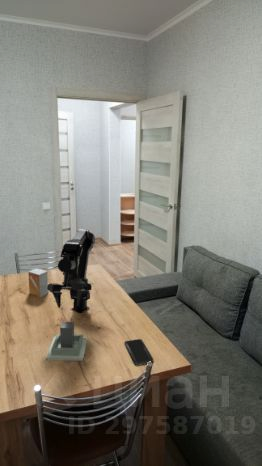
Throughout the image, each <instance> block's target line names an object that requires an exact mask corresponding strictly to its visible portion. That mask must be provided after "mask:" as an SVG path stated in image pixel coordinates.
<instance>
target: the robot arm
mask: <svg viewBox="0 0 262 466" xmlns="http://www.w3.org/2000/svg"><path fill="white" fill-rule="evenodd" d="M95 243H96V237H95V234H94V233H93V232H91V231H89V230H88V229H85V228H79V229H77V231H76V233H75V235H74V236H73V238H72V239H69V240H67V241H65V243H64V244H63V246H62V250H61V252H60V258H61V259H60V260H59V261H58V263H57V268H58V270H59V271H60V272H61V273H62V275H63V281H62V283H57V282H55V283H51V282H50V283H48V286H47V290H48V292H50V293H52V294H53V297H54V300H55V304H56V305H57V308H61V303H62V302H61V300H62V299H61V298H62V297H61V296H62V294H63V292H62V290H69V296H70V300H73V307H72V308H71V311H74V312H76V313H79V314H83V313H85V312H86V311H88V310H89V309H90V307H89V306H88V301H89V300H90V299H91V292H90V291H92V290H93V289H92V284H91V283H89V282H88V280H89V279H88V278H87V272H88V263H89V258H90V257H89V256H90V252H91V251H92V250H93V249H94V244H95ZM78 258H79V260H78ZM78 261H79V262H78Z"/></svg>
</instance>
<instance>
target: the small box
mask: <svg viewBox="0 0 262 466" xmlns="http://www.w3.org/2000/svg"><path fill="white" fill-rule="evenodd" d="M27 272H28V274H27V275H28V293H29V295H33V296H36V297H39V298H42V297H43V296H45V295H48V294H49V290H47V286H48V285H49V282H48V281H49V279H48V277H49V276H48V270H44V269H40V268H37V267H36V268H34V269H32V270H31V269H30V270H29V271H27Z"/></svg>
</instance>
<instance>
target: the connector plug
mask: <svg viewBox="0 0 262 466" xmlns="http://www.w3.org/2000/svg"><path fill="white" fill-rule="evenodd" d="M59 330H60V331H59V334H60V340H61V347H60V348H74V344H75V341H74V334H75V321H62V322H61V325H60V328H59Z"/></svg>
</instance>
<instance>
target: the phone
mask: <svg viewBox="0 0 262 466" xmlns="http://www.w3.org/2000/svg"><path fill="white" fill-rule="evenodd" d="M124 346H125V348H126V350H127V352H128V354H129V357H130V359H131V361H132V364H134V365H135V366H141V365H146V364H148V363H147V362H149V361H151V362H152V363H153V362H154V357H153V356H152V354H151V352H150V351H149V349H148V347H147V346H146V344H145V342H144V340H143V339H142V338H138V339H131V340H125V341H124ZM140 364H141V365H140Z"/></svg>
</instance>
